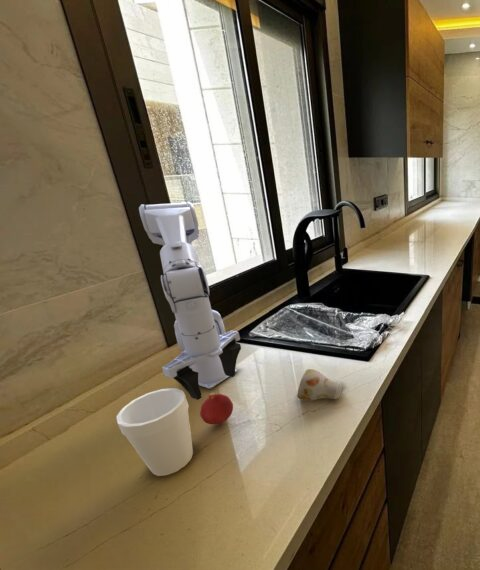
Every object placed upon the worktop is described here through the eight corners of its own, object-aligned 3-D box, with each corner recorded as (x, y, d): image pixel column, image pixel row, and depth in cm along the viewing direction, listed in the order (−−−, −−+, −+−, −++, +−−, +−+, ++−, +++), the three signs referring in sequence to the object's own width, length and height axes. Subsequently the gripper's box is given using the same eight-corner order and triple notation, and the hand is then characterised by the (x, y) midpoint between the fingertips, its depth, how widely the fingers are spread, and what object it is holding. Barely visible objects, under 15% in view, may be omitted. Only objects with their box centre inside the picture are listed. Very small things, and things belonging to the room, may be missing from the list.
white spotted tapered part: (342, 407, 75) (315, 381, 70) (310, 416, 78) (282, 392, 73) (351, 381, 81) (326, 355, 76) (320, 390, 84) (295, 366, 79)
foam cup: (153, 493, 55) (128, 435, 51) (131, 467, 60) (107, 412, 55) (212, 453, 63) (195, 400, 58) (188, 433, 67) (171, 382, 63)
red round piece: (213, 413, 73) (205, 384, 70) (240, 412, 73) (233, 383, 70) (199, 434, 67) (189, 403, 64) (228, 432, 68) (220, 401, 65)
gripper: (173, 352, 55) (193, 415, 60) (245, 316, 68) (256, 370, 73) (146, 343, 57) (167, 405, 62) (220, 310, 70) (233, 363, 75)
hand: (214, 385), depth 68 cm, fingers open, 7 cm apart
